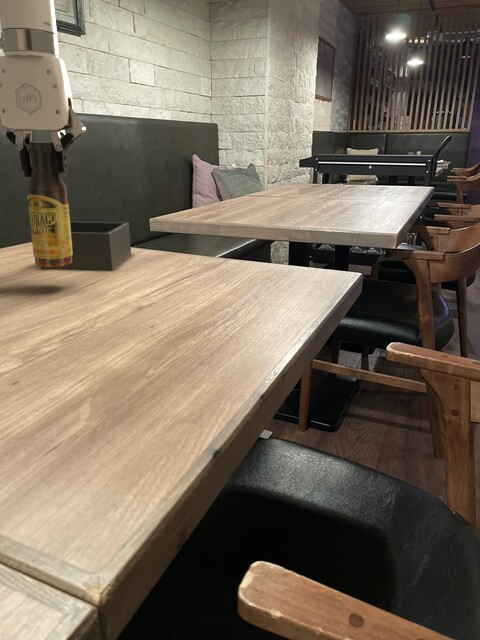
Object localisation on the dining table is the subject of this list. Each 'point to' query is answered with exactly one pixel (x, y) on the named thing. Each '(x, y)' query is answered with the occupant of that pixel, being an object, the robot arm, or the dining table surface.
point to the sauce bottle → (48, 210)
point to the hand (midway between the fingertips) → (45, 175)
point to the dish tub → (98, 245)
